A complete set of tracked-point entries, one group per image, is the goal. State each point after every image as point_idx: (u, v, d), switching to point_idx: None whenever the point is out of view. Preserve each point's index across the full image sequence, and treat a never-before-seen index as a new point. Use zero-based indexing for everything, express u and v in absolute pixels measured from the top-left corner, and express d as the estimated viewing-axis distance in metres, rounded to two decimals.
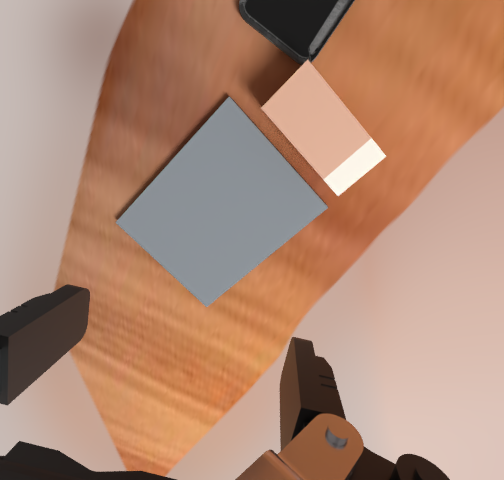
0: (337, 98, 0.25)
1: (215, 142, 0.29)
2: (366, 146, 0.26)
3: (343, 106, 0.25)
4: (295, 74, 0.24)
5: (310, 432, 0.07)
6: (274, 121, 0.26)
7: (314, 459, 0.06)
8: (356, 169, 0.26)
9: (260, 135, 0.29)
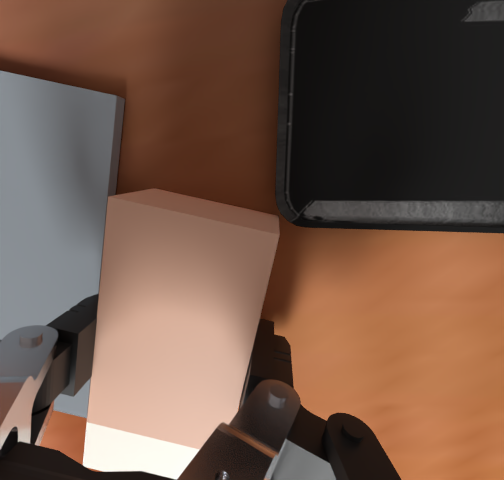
0: (248, 347, 0.10)
1: (12, 128, 0.11)
2: None
3: (242, 370, 0.10)
4: (231, 228, 0.09)
5: (252, 393, 0.08)
6: (107, 248, 0.09)
7: (251, 413, 0.07)
8: (154, 466, 0.11)
9: (99, 216, 0.12)
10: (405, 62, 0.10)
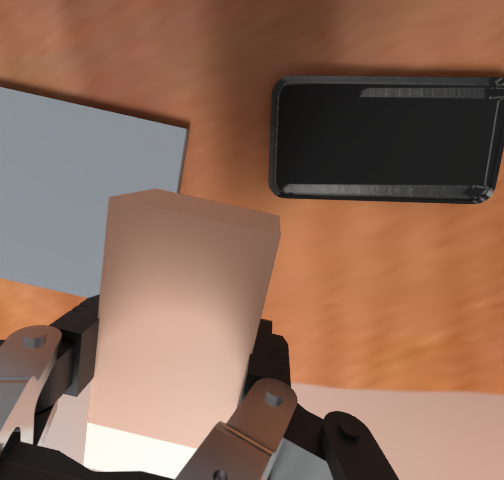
0: (249, 348, 0.10)
1: (128, 145, 0.21)
2: None
3: (243, 370, 0.10)
4: (232, 229, 0.09)
5: (250, 392, 0.08)
6: (107, 248, 0.09)
7: (248, 412, 0.07)
8: (155, 467, 0.11)
9: None
10: (332, 115, 0.20)
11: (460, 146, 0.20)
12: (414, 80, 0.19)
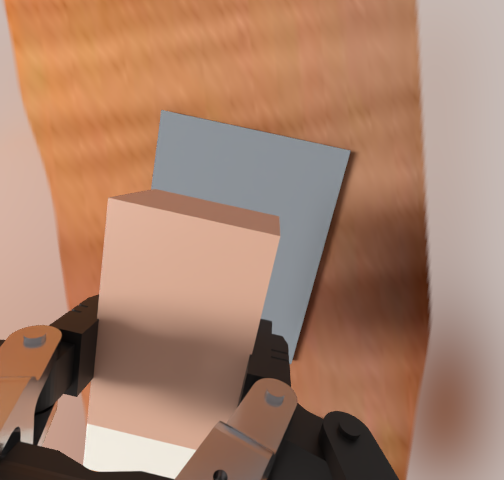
0: (249, 349, 0.10)
1: (279, 320, 0.25)
2: None
3: (243, 371, 0.10)
4: (232, 229, 0.09)
5: (249, 392, 0.08)
6: (107, 249, 0.09)
7: (247, 412, 0.07)
8: (155, 468, 0.11)
9: None
10: None
11: None
12: None
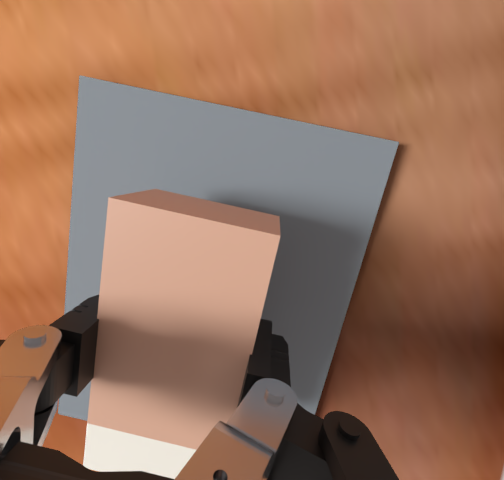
0: (249, 349, 0.10)
1: None
2: None
3: (243, 371, 0.10)
4: (232, 229, 0.09)
5: (249, 391, 0.08)
6: (107, 249, 0.09)
7: (247, 412, 0.07)
8: (155, 468, 0.11)
9: None
10: None
11: None
12: None
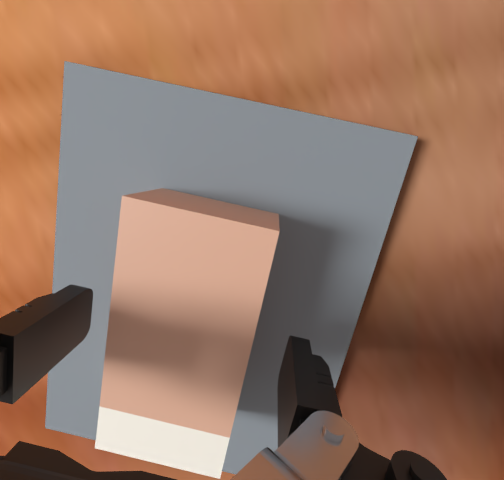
0: (250, 336, 0.10)
1: None
2: (209, 439, 0.11)
3: (245, 357, 0.11)
4: (235, 225, 0.09)
5: (306, 428, 0.07)
6: (120, 243, 0.10)
7: (309, 455, 0.06)
8: (162, 448, 0.12)
9: None
10: None
11: None
12: None
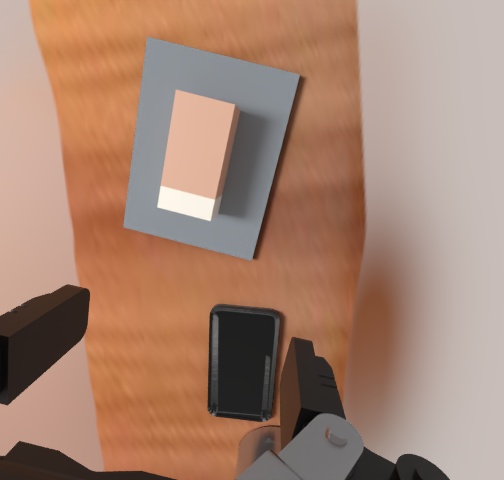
0: (223, 150, 0.26)
1: (242, 222, 0.31)
2: (206, 200, 0.27)
3: (221, 160, 0.26)
4: (218, 102, 0.25)
5: (310, 432, 0.07)
6: (174, 109, 0.25)
7: (314, 459, 0.06)
8: (186, 206, 0.28)
9: (211, 248, 0.32)
10: (257, 342, 0.35)
11: (238, 400, 0.37)
12: (272, 380, 0.36)
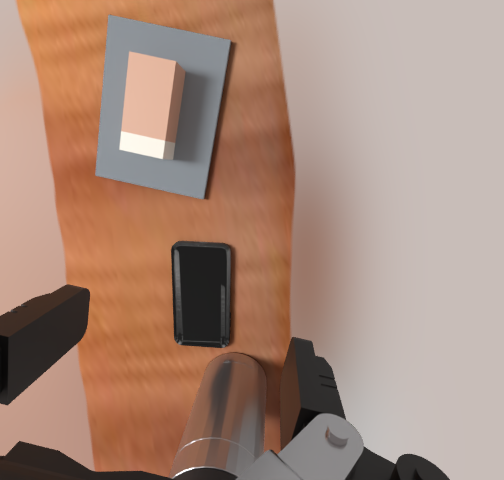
0: (169, 99, 0.33)
1: (193, 165, 0.38)
2: (158, 142, 0.34)
3: (168, 107, 0.33)
4: (163, 59, 0.32)
5: (310, 432, 0.07)
6: (128, 67, 0.32)
7: (314, 459, 0.06)
8: (142, 147, 0.34)
9: (169, 189, 0.38)
10: (212, 273, 0.41)
11: (200, 329, 0.43)
12: (228, 307, 0.42)
